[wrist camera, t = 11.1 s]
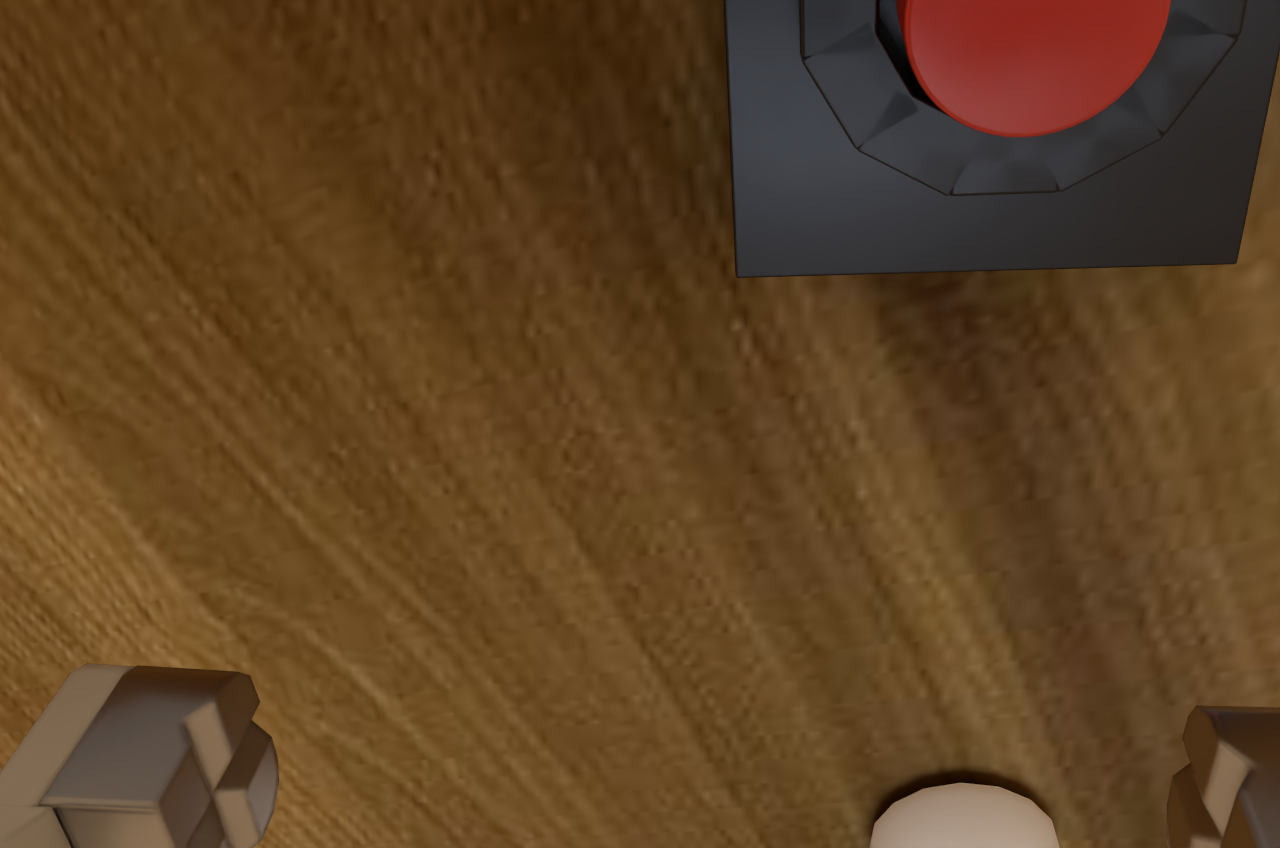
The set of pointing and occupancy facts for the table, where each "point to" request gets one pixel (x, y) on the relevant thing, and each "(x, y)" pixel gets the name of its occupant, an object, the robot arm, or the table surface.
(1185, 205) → the control block
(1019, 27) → the button
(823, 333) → the table surface
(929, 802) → the lidless jar
